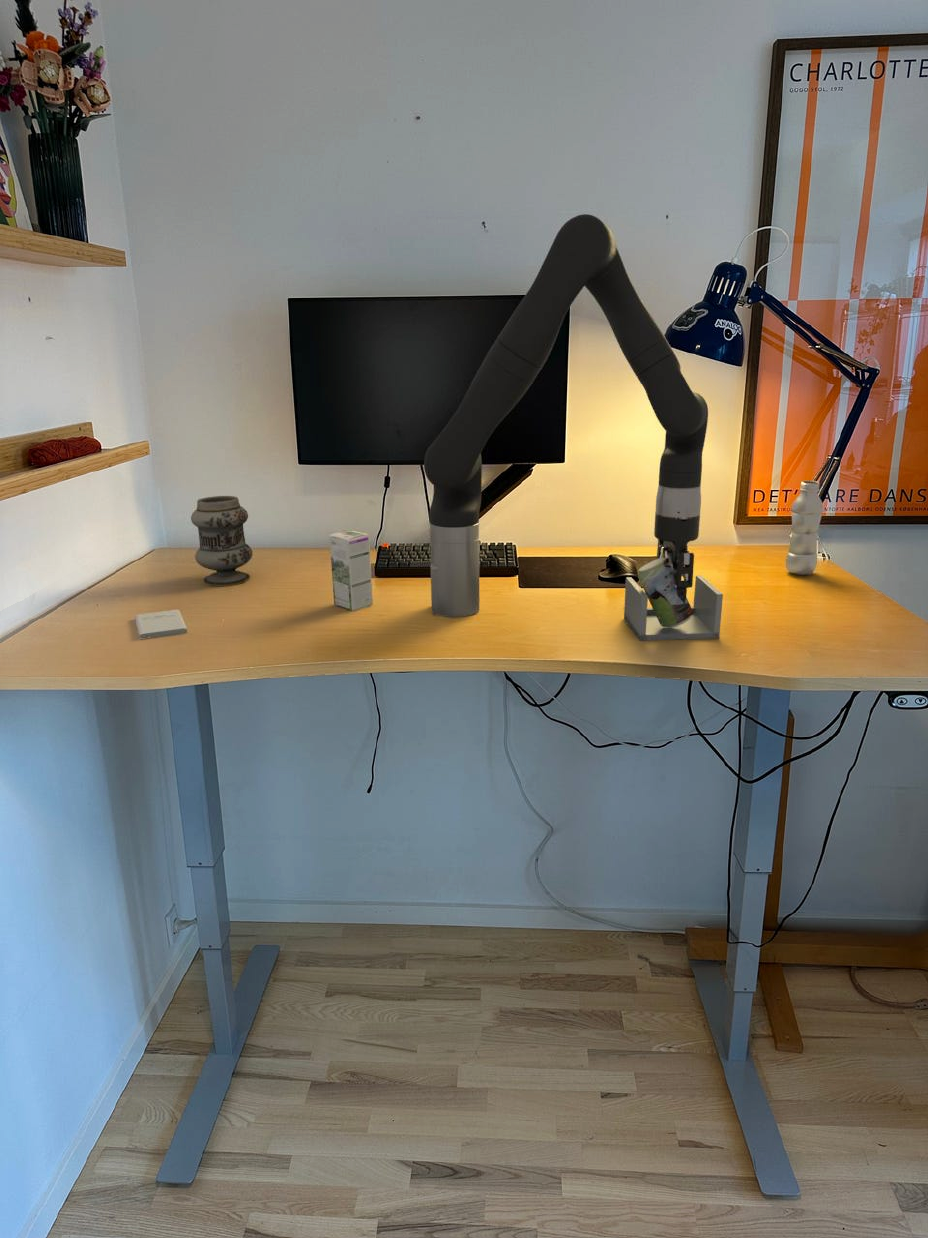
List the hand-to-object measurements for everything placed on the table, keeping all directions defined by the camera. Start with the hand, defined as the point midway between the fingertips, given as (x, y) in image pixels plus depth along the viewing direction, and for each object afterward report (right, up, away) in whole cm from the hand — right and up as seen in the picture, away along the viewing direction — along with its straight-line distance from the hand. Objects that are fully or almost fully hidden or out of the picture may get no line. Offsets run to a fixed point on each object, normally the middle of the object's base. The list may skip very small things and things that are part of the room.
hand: (671, 601), depth 155 cm
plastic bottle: (+36, +7, +35) cm, 51 cm away
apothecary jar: (-89, +5, +35) cm, 96 cm away
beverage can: (0, -4, -2) cm, 5 cm away
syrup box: (-59, -1, +17) cm, 61 cm away
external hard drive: (-93, -5, +6) cm, 94 cm away
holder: (0, -5, +2) cm, 5 cm away
